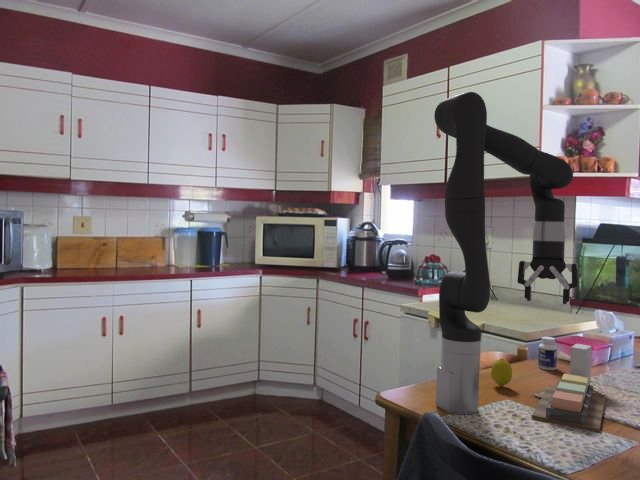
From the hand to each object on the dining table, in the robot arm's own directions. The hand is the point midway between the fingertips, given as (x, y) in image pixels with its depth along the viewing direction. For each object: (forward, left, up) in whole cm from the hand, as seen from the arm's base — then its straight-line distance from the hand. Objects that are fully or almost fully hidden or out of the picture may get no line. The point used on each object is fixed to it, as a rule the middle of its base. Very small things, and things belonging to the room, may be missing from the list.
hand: (546, 302), depth 136 cm
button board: (+3, -7, -26) cm, 26 cm away
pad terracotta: (-4, -12, -23) cm, 27 cm away
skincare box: (+18, +5, -26) cm, 32 cm away
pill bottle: (+25, +25, -26) cm, 44 cm away
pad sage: (+3, -7, -23) cm, 24 cm away
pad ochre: (+10, -1, -23) cm, 25 cm away
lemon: (-3, +12, -26) cm, 29 cm away
